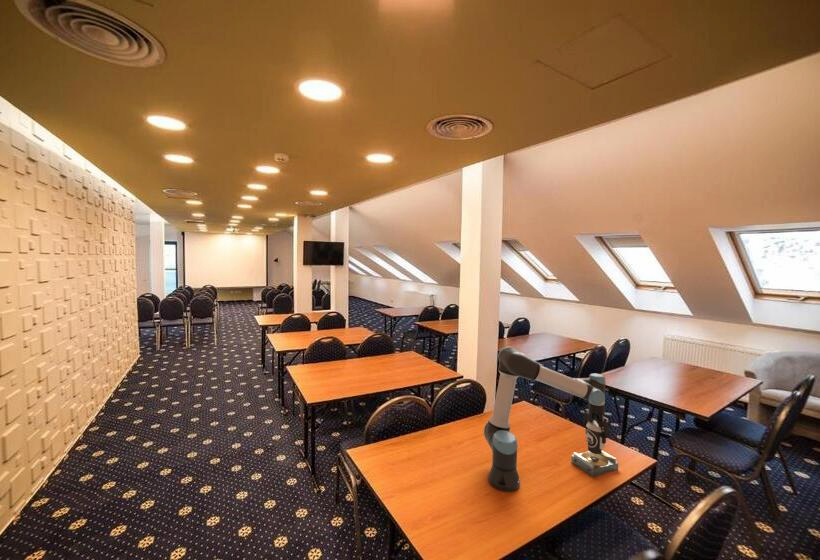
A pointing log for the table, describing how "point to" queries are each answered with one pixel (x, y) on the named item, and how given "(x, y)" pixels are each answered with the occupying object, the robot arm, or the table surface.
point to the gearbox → (595, 463)
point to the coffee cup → (594, 437)
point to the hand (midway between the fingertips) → (595, 444)
